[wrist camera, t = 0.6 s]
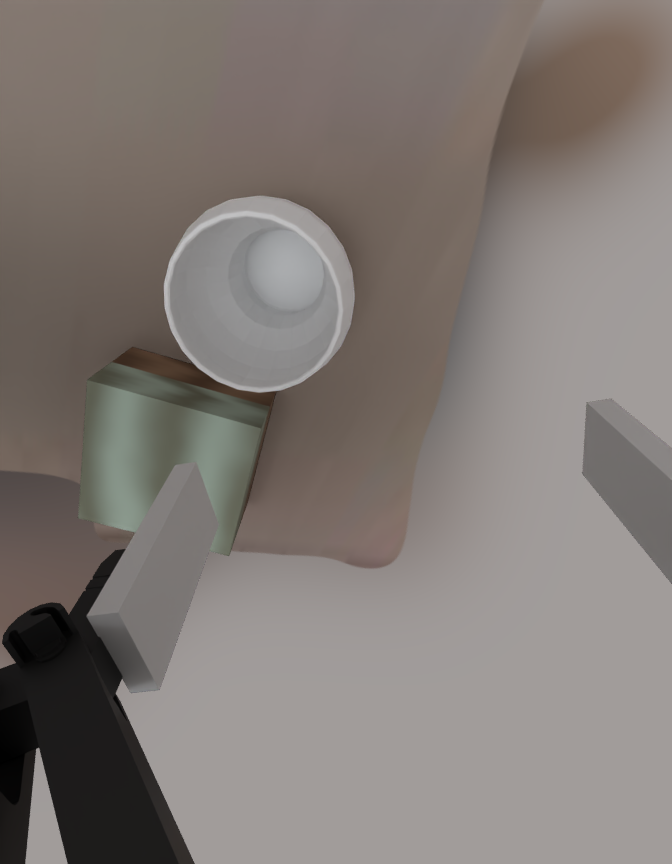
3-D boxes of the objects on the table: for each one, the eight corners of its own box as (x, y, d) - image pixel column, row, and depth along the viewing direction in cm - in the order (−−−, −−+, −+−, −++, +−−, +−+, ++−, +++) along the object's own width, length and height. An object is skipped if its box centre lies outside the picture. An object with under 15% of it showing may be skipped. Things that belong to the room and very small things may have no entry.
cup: (372, 215, 37) (380, 233, 24) (335, 346, 42) (325, 422, 29) (235, 174, 36) (163, 168, 23) (213, 312, 41) (143, 374, 28)
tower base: (119, 468, 48) (78, 518, 41) (132, 347, 43) (87, 379, 36) (247, 502, 50) (229, 556, 42) (276, 388, 44) (261, 428, 37)
